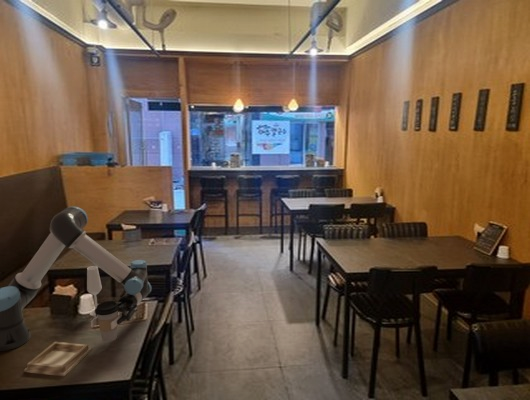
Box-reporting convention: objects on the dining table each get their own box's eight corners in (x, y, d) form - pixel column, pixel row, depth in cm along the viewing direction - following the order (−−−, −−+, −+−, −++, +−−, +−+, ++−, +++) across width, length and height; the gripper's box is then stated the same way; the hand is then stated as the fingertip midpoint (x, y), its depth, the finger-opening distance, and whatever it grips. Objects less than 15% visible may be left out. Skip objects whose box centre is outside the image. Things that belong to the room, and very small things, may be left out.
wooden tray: (24, 371, 145) (23, 364, 144) (55, 346, 161) (54, 340, 161) (64, 376, 142) (63, 369, 141) (91, 350, 158) (91, 343, 158)
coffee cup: (125, 338, 160) (122, 305, 157) (102, 347, 153) (99, 313, 151) (115, 329, 167) (113, 298, 164) (94, 337, 160) (90, 305, 157)
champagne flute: (96, 316, 186) (91, 271, 182) (86, 314, 189) (81, 269, 184) (107, 310, 193) (102, 266, 188) (97, 308, 195) (92, 264, 191)
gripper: (151, 309, 175) (126, 336, 153) (109, 306, 178) (79, 331, 156) (150, 294, 173) (124, 319, 151) (108, 291, 177) (77, 314, 155)
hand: (101, 325), depth 154 cm, fingers closed on coffee cup, 8 cm apart
